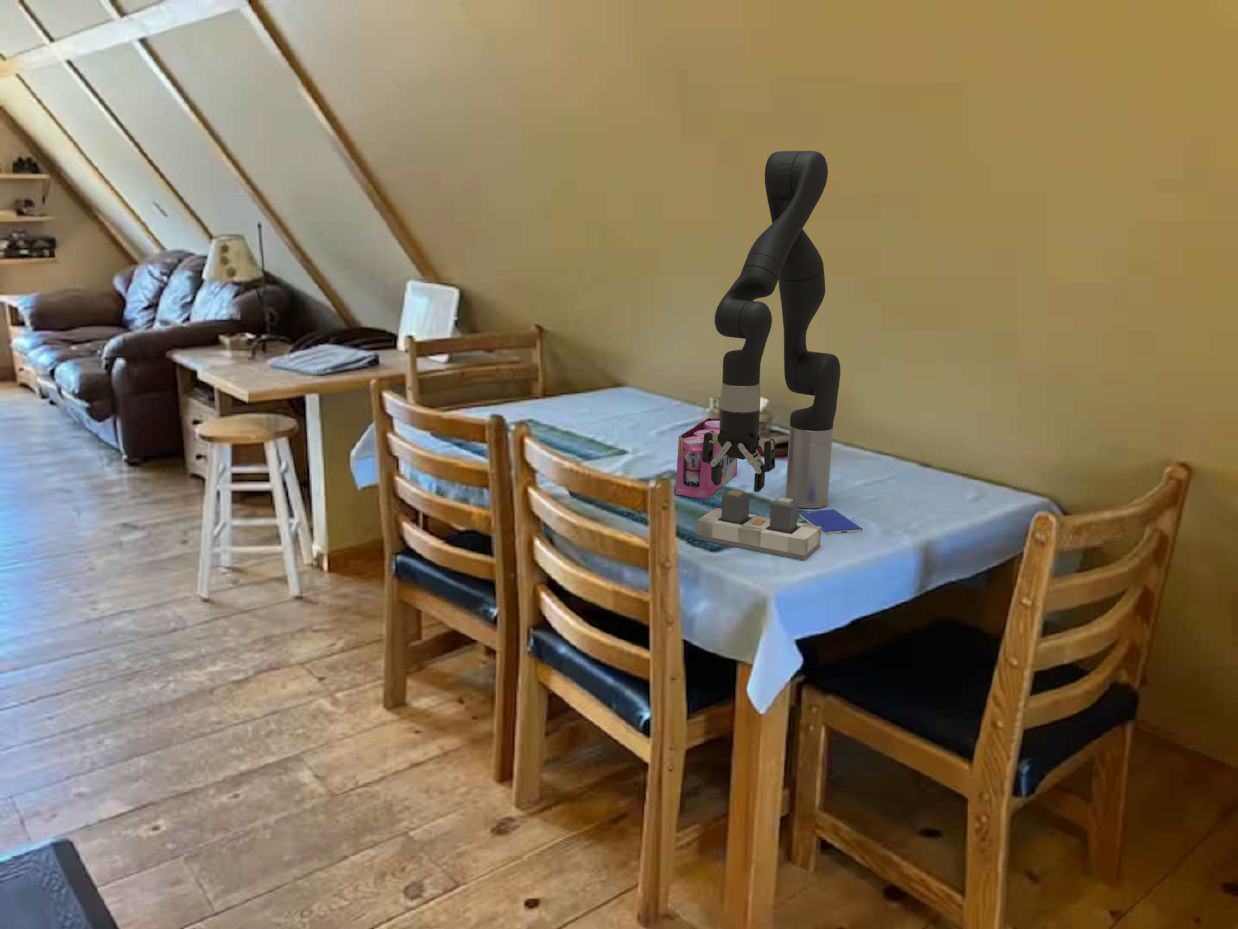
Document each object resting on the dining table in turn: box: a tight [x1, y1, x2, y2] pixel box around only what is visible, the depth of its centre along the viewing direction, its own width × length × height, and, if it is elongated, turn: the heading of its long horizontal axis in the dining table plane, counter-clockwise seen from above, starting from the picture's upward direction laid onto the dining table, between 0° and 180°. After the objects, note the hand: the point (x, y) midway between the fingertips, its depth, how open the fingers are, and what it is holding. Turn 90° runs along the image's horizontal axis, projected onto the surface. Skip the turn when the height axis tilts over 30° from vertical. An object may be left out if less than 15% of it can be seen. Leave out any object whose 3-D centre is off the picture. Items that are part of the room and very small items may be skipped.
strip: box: [696, 507, 822, 561], centre depth 192 cm, size 22×9×4 cm, turn 60°
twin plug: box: [769, 497, 799, 534], centre depth 189 cm, size 4×4×9 cm
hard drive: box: [799, 509, 864, 536], centre depth 204 cm, size 2×8×12 cm
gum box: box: [675, 416, 738, 500], centre depth 229 cm, size 24×8×14 cm, turn 157°
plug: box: [721, 488, 751, 525], centre depth 194 cm, size 4×4×9 cm
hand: (737, 487), depth 193 cm, fingers open, 8 cm apart
